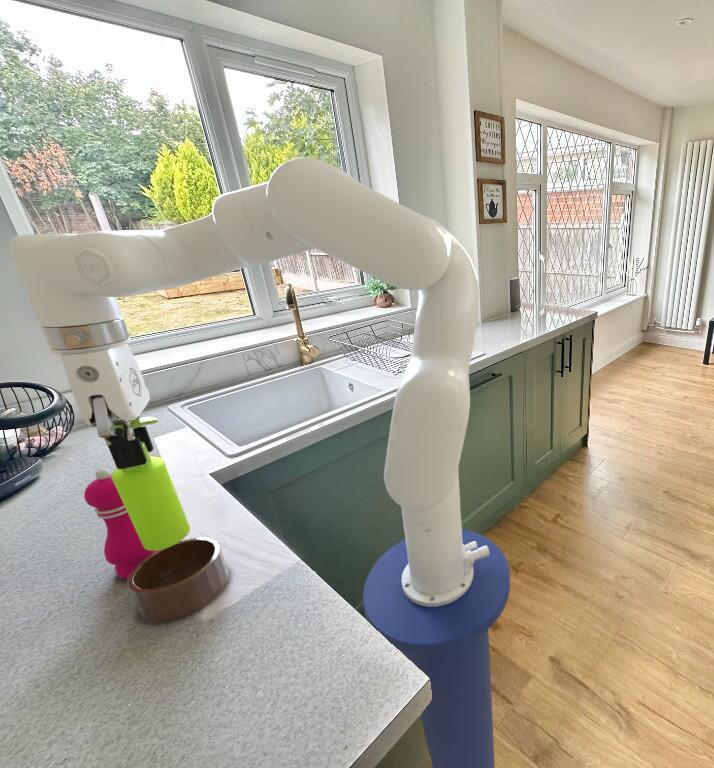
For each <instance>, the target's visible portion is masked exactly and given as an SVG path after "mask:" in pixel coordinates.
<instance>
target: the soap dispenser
mask: <svg viewBox="0 0 714 768" xmlns="http://www.w3.org/2000/svg"><path fill="white" fill-rule="evenodd" d="M158 421H159V419H158V418H157V417H154V416H145V417H144V416H143V418H138V419H135V420H133V421H130V423H131V426H132V429H135V428H138V427H143V426H147V425H153V424H156V423H157V422H158ZM114 427H116V428H122V429H123V430H124V428H123V424H122V425H117V426H114ZM140 442H141V441H140ZM141 445H142V448H143V450H144V453H145V456H146V458H147V462H146V464H143V465H139V466H134V467H129V468H125V469H118V468H117V467H116V468H115V470H113V471H112V473H111V474H112V475H111V478H112V480H113V482H114V484H115V486H116V488H117V491H118V493H119V495H120V497H121V499H122V501H123V504H124V506H125V508H126V510H127V512H128V514H129V516H130V519H131V521H132V523H133V525H134V527H135V529H136V531H137V534H138V536H139V538H140V540H141V542H142V544H143V547H144V548H145V549H146V550H150V551H156V550H161V549H165V548H168V547H170V546H173V545H175V544H176V543H178V542H180V541H183V540H185V538H186V537H187V536H188V535H189V533H190V531H191V527H190V524H189V522H188V519H187V517H186V514H185V511H184V509H183V506H182V503H181V501H180V499H179V496H178V493H177V491H176V489H175V486H174V484H173V480H172V478H171V476H170V473H169V471H168V468H167V466H166V463H165V461H164V459H163V458H162V457H160V456H151V455H150V454H149V453H150V452H148V451H147V448H146V446H145V444H144V442H141Z"/></svg>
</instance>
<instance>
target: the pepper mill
mask: <svg viewBox="0 0 714 768" xmlns="http://www.w3.org/2000/svg"><path fill="white" fill-rule="evenodd" d="M111 475H112V473H111V470H110V469H108V468H100V469H98V470H97V471H96V472H95V475H94V477H95V479H93V480H92V481H91V482H90V483H89V484H88V485H86V487H85V490H84V494H83V495H84V496H83V497H84V500H85V502H86V503H87V505H88V506H90V507H92V508H94V512H95V513H96V517H97V518H99V519H101V520H103V522H104V524H105V525H106V531H107V534H106V539H105V542H104V549H103V554H104V559H105V560H106V562H107V563H108V564H110V565H113V566H114V570H115V572H116V575H117V577H118V578H120V579H122V580H128V578H129V575H130V573H131V572H132V571H133V570H134V569H135V567H136V566H137V565H138V564H139V563H140V562H142V561H143V560H144V559H146V558H147V557H148V556H150V555H151V554H153V553H155V552H156V551H158V550H156V551H150V550H146V549H145V548H144V547H143V544H142V542H141V540H140V538H139V536H138V534H137V531H136V529H135V527H134V525H133V523H132V521H131V519H130V516H129V514H128V512H127V510H126V508H125V506H124V504H123V501H122V499H121V497H120V495H119V493H118V491H117V488H116V486H115V484H114V482H113V480H112V478H111Z"/></svg>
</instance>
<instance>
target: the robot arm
mask: <svg viewBox="0 0 714 768" xmlns="http://www.w3.org/2000/svg"><path fill="white" fill-rule="evenodd" d="M211 211H212V212H210V213H209V214H207V215H206V216H203V217H201V218H198V219H195V220H192V221H188V222H184V223H181V224H178V225H174V226H171V227H167V228H163V229H157V230H100V231H99V230H98V231H90V232H83V233H33V234H32V233H29V234H19V235H15V236H13V237H11V239H10V240H9V242H8V250H9V253H10V256H11V258H12V261H13V263H14V265H15V268H16V271H17V272H18V275H19V277H20V280H21V282H22V284H23V287H24V289H25V291H26V293H27V296H28V299H29V301H30V304H31V306H32V308H33V311H34V313H35V316H36V318H37V320H38V322H39V324H40V329H42V332H43V335H44V337H45V339H46V341H47V344H48V347H49V349H50V351H51V353H52V354H55V355H60V357H61V360H62V364H63V367H64V370H65V374H66V378H67V380H68V382H69V383H68V384H69V386H70V389H71V392H72V394H73V398H74V400H75V402H76V405H77V408H78V410H79V412H80V414H81V417H82V418H83V420H84V422H85V424H86V425H87V426H89V427H92V428H96V432H97V436H98V437H99V438H102V439H104V442H105V444H106V446H107V447H108V450H109V452H110V455H111V457H112V461H113V462H114V464H115V467H116V469H117V468H118V469H125V468H129V467H134V466H139V465H143V464H146V462H147V458H146V456H145V453H144V450H143V448H142V445H141V442H144V444H145V446H146V448H147V451H148V453H151V452H153V451H154V446H153V445H154V444H153V442H152V440H151V437H150V434H149V432H148V429H147V425H144V426H141V427H138V428H135V429H132V426H131V423H130V421H133V420H135V419H138V418H144V416H143V415H142V413H143V411H144V410H145V408H146V407H147V405H148V404H149V402H150V400H151V395H150V391H149V389H148V387H147V384H146V381H145V378H144V377H143V375H142V371H141V369H140V367H139V365H138V363H137V359H136V358H135V356H134V353H133V352H132V350H131V348H130V346H129V344H130V343H131V342H132V338H131V336H130V334H129V330H128V328H127V325H126V322H125V319H124V317H123V314H122V311H121V308H120V305H119V302H118V300H117V298H129V297H134V296H135V297H136V296H140V295H145V294H150V293H154V292H159V291H162V290H163V291H164V290H170V289H174V288H180V287H183V286H186V285H190V284H194V283H198V282H200V281H203V280H207V279H210V278H213V277H218V276H222V275H224V274H227V273H232V272H234V271H238V270H241V269H246V268H248V269H251V268H255V267H257V266H262V265H264V264H268V263H271V262H274V261H278V260H281V259H284V258H287V257H291V256H294V255H299V254H301V253H305V252H308V251H312V250H318V251H319V252H321V253H323V254H326V255H327V256H329V257H331V258H334V259H336V260H337V261H340V262H342V263H344V264H346V265H348V266H350V267H353V268H355V269H356V270H358V271H361V272H363V273H365V274H366V275H369V276H371V277H373V278H375V279H377V280H379V281H381V282H383V283H386V284H388V285H391V286H393V287H396V288H399V289H401V290H407V291H417V292H418V303H417V310H416V315H415V322H414V332H413V333H414V334H413V339H412V343H411V344H412V345H411V351H410V355H409V359H408V362H407V366H406V367H405V370H404V371H403V375H402V377H401V379H400V382H399V385H398V387H397V390H396V393H395V397H394V401H393V407H392V414H391V421H390V427H389V434H388V441H387V448H386V455H385V461H384V470H383V482H384V486H385V489H386V491H387V494H388V495H389V497H390V498H391V499H392V501H394V502H395V503H396V504H397V505H399V506H400V507H401V516H402V524H403V531H404V537H405V538H404V540H406V548H407V556H408V565H407V566H406V567H405V569H404V571H403V574H402V581H401V582H402V588H403V592H404V594H405V595H406V597H407V598H408V599H409V600H410V601H412V602H414V603H415V604H418V605H421V606H427V607H437V606H442V605H446V604H449V603H451V602H453V601H455V600H457V599H458V598H460V597H461V596H462V595H464V593H465V592H466V591H467V590H468V589H469V587H470V585H471V583H472V581H473V575H474V572H473V565H472V564H474V561H476V560H478V559H482V558H485V557H487V556H489V555H490V553H489V549H488V547H487V546H486V545H485V546H483V547H480V548H478V549H477V550H474V551H472V552H471V551H470V550H473V549H476V548H477V543H476V541H473V542H471V543H468V544H466V545H463V539H462V530H463V525H462V513H461V493H460V492H461V491H460V475H459V465H460V461H461V456H462V452H463V448H464V443H465V438H466V435H467V434H466V433H467V429H468V424H469V418H470V409H471V389H470V387H471V385H470V366H471V359H472V354H473V349H474V344H475V336H476V331H477V324H478V317H479V309H480V289H479V288H480V287H479V281H478V276H477V273H476V269H475V267H474V264H473V262H472V259H471V257H470V255H469V254H468V251H467V250H466V249H465V248H464V246H463V245H462V243H461V242H460V241H459V240H458V238H456V237H455V236H454V235H453V234H452V233H451V232H450V231H449V230H448V229H447V228H445V227H444V226H443V225H442V224H441V223H439V221H436V220H435V219H434V218H431V217H429V216H427V215H423V214H421V213H419V212H416V211H414V210H413V209H412V208H409V207H407V206H405V205H403V204H402V203H399V202H398V201H395V200H393V199H391V198H390V197H388V196H385V195H384V194H382V193H380V192H379V191H376V190H374V189H372V188H370V187H369V186H367V185H365V184H364V183H361V182H359V181H358V180H356V179H354V177H352V176H351V175H350V174H348V173H347V172H346V171H344V170H342V169H341V168H339V167H337V166H335V165H333V164H331V163H329V162H327V161H324V160H322V159H319V158H315V157H311V156H310V157H305V156H300V157H295V158H291V159H289V160H286V161H284V162H283V163H281V164H280V165H278V167H277V168H275V170H274V171H273V172H272V174H271V175H270V177H269V178H268V181H266V182H262V183H259V184H256V185H255V184H254V185H252V186H248V187H244V188H241V189H238V190H233V191H230V192H227V193H223V194H220V195H218V196H217V197H216V198H215V199H214V201H213V204H212V210H211ZM122 424H123V428H124V430H123V429H122V428H116V427H114V426H117V425H122ZM140 441H141V442H140Z"/></svg>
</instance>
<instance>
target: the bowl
mask: <svg viewBox="0 0 714 768" xmlns="http://www.w3.org/2000/svg"><path fill="white" fill-rule="evenodd" d="M227 566H228V565H227V563H226V560H225V557H224V554H223V552H222V547H221V545H220V543H219V542H218V540H216V539H213V538H211V537H203V536H199V537H192V538H187V539H182V540H181V541H180V542H178V543H176V544H175V545H173V546H170V547H168V548H165V549H161V550H158V551H156V552H155V553H153V554H151V555H150V556H148V557H147V558H146V559H144V560H143V561H142V562H140V563H139V564H138V565H137V566H136V567H135V569H134V570H133V571H132V572H131V573H130V575H129V578H128V579H126V580H127V581H126V583H127V588H128V590H129V592H130V595H131V597H132V599H133V601H134V604H135V606H136V608H137V611H138V613H139V614H140V616H141V618H142V619H144V620H145V621H147V622H149V623H157V624H158V623H159V624H160V623H168V622H172V621H177V620H180V619H183V618H185V617H187V616H189V615H191V614H194V613H195V612H198V611H199V610H201V609H202V608H204V607H206V606H207V605H209V603H211V602H212V601H213V600H215V599H216V598H217V597H218V596H219V595H220V594H221V592H222V591H223V590H224V589H225V587H226V586H227V583H228V581H229V576H230V575H229V571H228V570H229V569H228V567H227Z"/></svg>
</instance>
